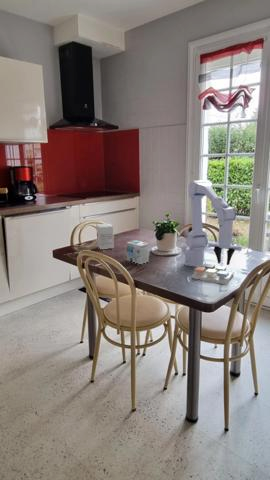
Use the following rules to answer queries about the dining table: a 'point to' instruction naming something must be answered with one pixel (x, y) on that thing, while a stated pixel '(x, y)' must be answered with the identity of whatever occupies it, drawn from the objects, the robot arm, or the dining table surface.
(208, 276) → the light grey tray
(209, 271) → the cream key
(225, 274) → the slate blue key
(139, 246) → the light bulb box
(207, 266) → the grey key
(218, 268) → the sage key
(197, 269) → the terracotta key
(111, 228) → the supplement box
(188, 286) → the dining table surface
